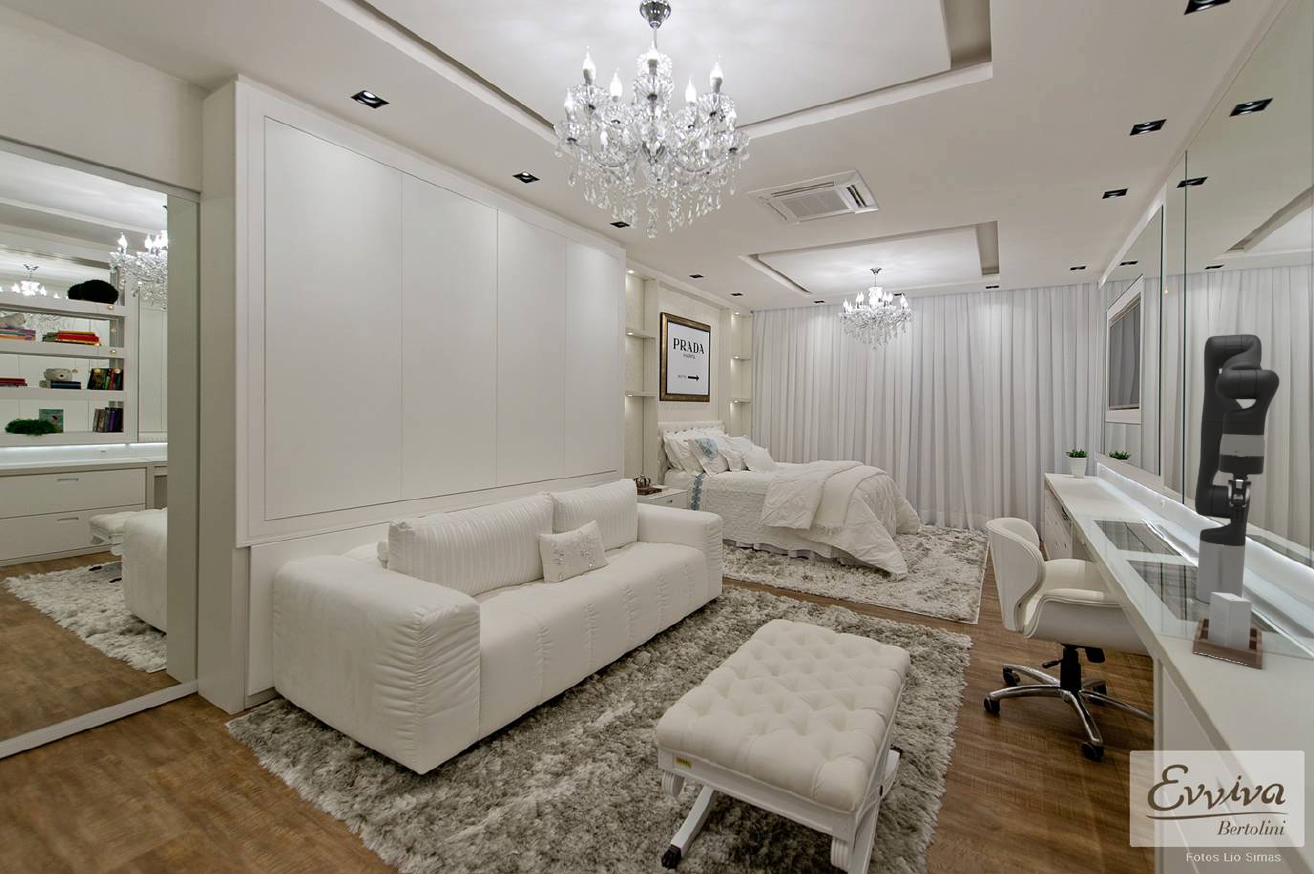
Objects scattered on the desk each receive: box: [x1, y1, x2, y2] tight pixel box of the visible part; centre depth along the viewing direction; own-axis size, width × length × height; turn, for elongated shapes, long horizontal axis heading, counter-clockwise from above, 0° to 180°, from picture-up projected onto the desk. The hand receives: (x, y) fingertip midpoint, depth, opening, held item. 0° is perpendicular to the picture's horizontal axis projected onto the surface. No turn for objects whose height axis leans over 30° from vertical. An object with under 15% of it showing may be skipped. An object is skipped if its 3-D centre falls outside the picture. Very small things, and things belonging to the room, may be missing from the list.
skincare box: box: [1208, 592, 1253, 651], centre depth 128 cm, size 6×4×12 cm
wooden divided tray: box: [1192, 616, 1263, 670], centre depth 132 cm, size 20×11×5 cm, turn 134°
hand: (1237, 520), depth 138 cm, fingers open, 8 cm apart
